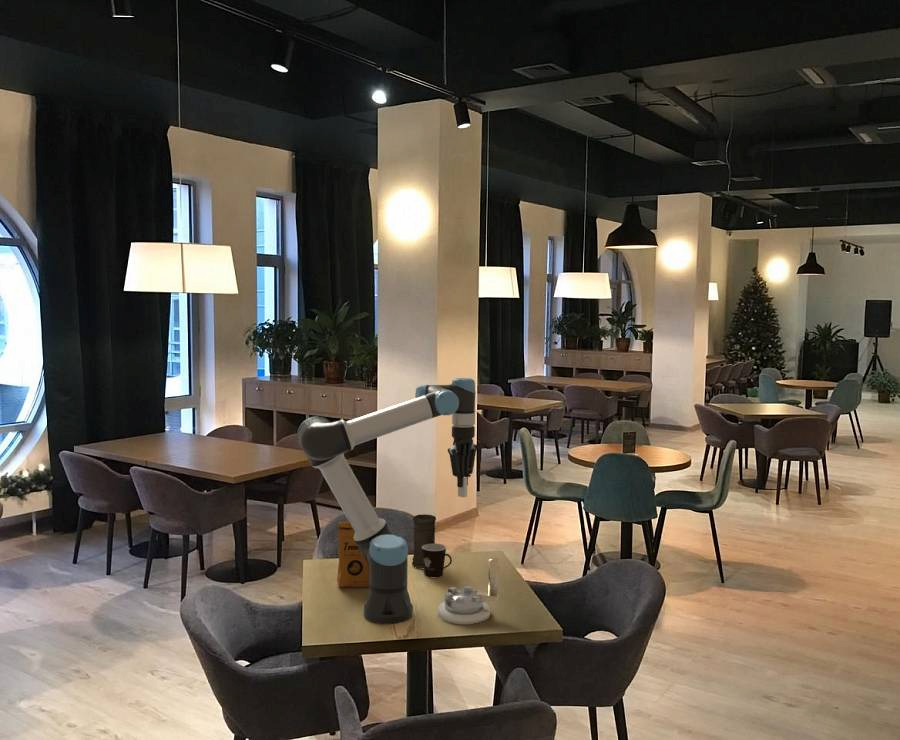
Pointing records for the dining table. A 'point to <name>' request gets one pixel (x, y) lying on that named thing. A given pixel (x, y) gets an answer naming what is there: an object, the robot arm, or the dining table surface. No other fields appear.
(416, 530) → the container
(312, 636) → the dining table surface
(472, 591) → the grey and clear pieces
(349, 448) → the robot arm
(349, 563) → the coffee package
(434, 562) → the coffee mug
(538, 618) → the dining table surface
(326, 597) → the dining table surface
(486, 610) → the nut base plate
